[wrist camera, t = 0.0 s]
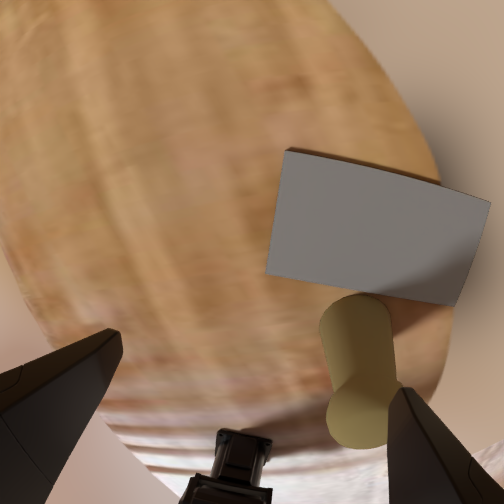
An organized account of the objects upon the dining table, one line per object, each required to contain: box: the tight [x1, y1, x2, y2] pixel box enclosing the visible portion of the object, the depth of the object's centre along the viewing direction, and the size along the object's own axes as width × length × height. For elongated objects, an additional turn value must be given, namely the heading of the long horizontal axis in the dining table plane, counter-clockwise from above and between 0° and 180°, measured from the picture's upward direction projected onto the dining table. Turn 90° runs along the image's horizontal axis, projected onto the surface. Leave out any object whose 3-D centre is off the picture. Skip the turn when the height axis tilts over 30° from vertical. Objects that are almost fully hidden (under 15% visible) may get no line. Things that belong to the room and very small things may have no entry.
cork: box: [319, 295, 403, 449], centre depth 20 cm, size 6×6×11 cm
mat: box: [265, 150, 491, 307], centre depth 21 cm, size 9×16×1 cm, turn 83°
